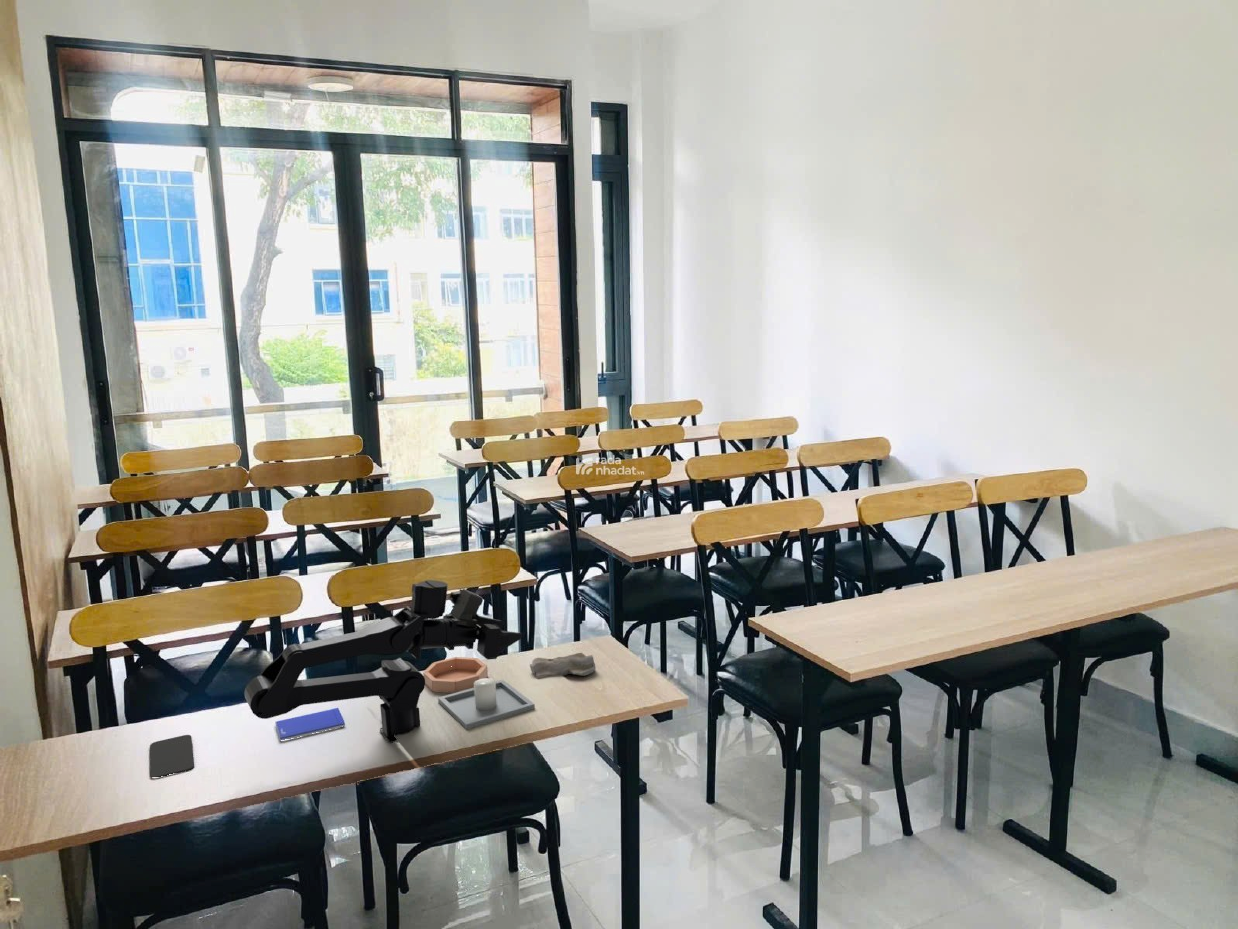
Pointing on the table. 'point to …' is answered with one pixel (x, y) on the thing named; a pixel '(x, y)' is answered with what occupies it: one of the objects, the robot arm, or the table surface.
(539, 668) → the stone
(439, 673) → the bowl
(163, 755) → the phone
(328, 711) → the hard drive
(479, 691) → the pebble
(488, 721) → the parts tray
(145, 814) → the table surface
